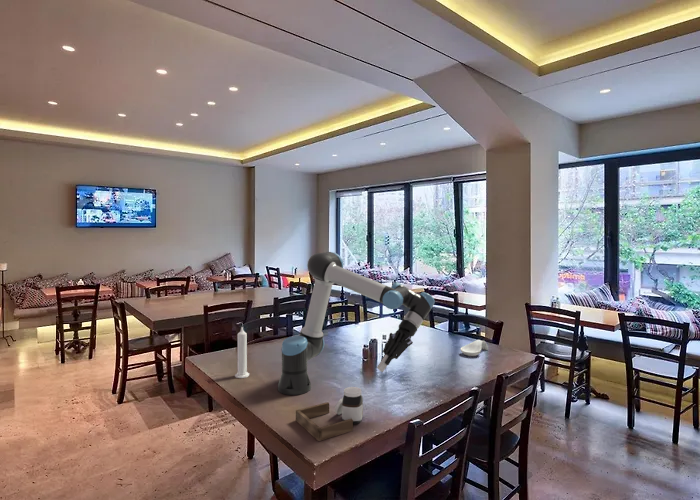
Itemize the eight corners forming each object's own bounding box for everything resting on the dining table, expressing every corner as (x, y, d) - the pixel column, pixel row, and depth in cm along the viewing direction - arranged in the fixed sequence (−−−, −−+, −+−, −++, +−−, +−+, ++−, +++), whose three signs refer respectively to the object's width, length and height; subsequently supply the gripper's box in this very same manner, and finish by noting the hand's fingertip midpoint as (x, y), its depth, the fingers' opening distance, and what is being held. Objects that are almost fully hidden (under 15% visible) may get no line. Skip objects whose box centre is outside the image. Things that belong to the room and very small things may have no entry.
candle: (240, 379, 196) (239, 329, 195) (232, 375, 200) (232, 327, 200) (252, 375, 201) (252, 326, 200) (244, 372, 206) (244, 324, 205)
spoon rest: (474, 359, 230) (474, 347, 230) (456, 355, 239) (456, 343, 239) (493, 351, 247) (493, 340, 247) (475, 347, 255) (475, 336, 255)
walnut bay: (295, 420, 152) (295, 410, 152) (327, 411, 160) (327, 402, 160) (318, 441, 137) (318, 429, 136) (352, 430, 144) (352, 419, 144)
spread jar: (359, 427, 147) (360, 396, 147) (330, 423, 149) (330, 393, 149) (365, 413, 159) (365, 384, 159) (337, 410, 161) (338, 382, 161)
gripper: (425, 332, 166) (394, 379, 157) (404, 326, 176) (375, 370, 168) (416, 321, 163) (384, 369, 154) (395, 316, 173) (365, 360, 165)
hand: (379, 369), depth 161 cm, fingers closed
